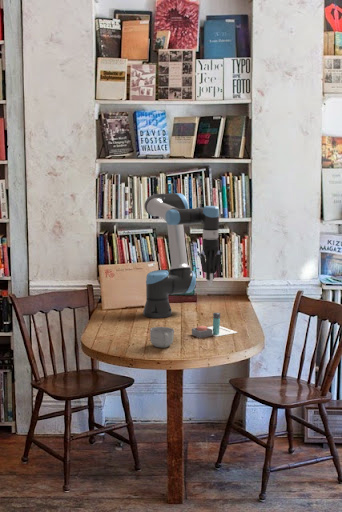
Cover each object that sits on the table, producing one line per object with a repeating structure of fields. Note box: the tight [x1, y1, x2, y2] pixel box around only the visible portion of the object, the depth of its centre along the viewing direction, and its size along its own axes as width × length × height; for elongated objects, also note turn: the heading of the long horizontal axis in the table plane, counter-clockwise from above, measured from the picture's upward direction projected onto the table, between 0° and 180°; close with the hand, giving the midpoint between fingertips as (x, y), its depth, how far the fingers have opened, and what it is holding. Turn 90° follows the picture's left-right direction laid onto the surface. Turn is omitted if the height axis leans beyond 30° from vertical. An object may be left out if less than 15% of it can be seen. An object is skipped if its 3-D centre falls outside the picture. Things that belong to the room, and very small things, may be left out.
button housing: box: [191, 327, 213, 339], centre depth 353 cm, size 7×7×3 cm
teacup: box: [149, 326, 175, 349], centre depth 333 cm, size 14×11×8 cm
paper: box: [206, 325, 239, 338], centre depth 360 cm, size 16×13×1 cm
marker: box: [212, 312, 221, 335], centre depth 354 cm, size 3×3×10 cm
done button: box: [196, 325, 208, 331], centre depth 353 cm, size 5×5×3 cm
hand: (209, 286), depth 361 cm, fingers closed
